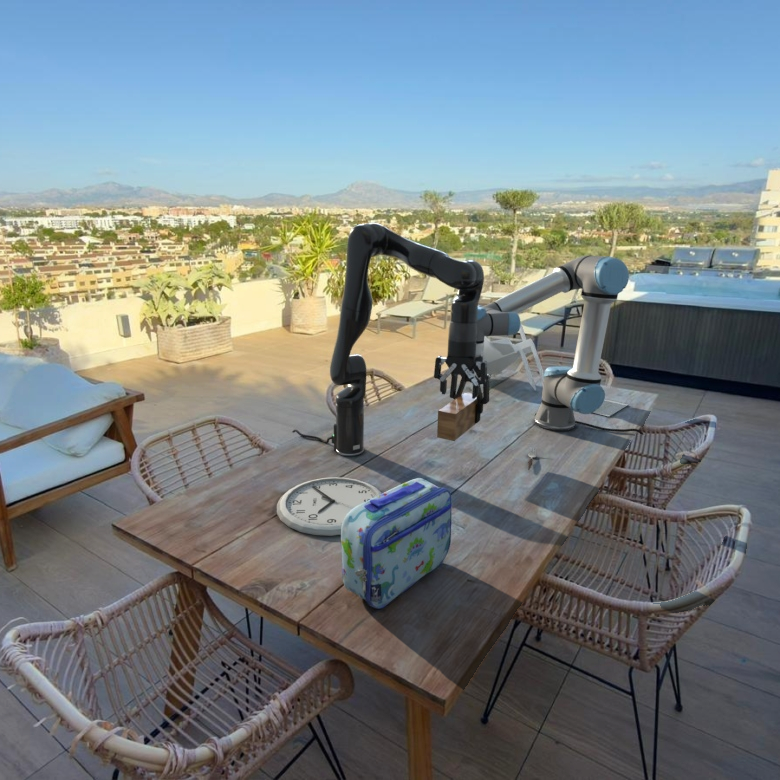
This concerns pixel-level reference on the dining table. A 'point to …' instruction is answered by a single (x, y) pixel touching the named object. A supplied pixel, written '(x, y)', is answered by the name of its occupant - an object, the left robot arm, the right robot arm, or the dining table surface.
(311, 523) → the wall clock
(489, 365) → the white plastic object
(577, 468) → the dining table surface
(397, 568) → the lunch box
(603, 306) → the right robot arm
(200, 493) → the dining table surface
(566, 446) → the dining table surface
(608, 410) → the invitation card
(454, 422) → the box
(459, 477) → the dining table surface
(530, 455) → the fork
